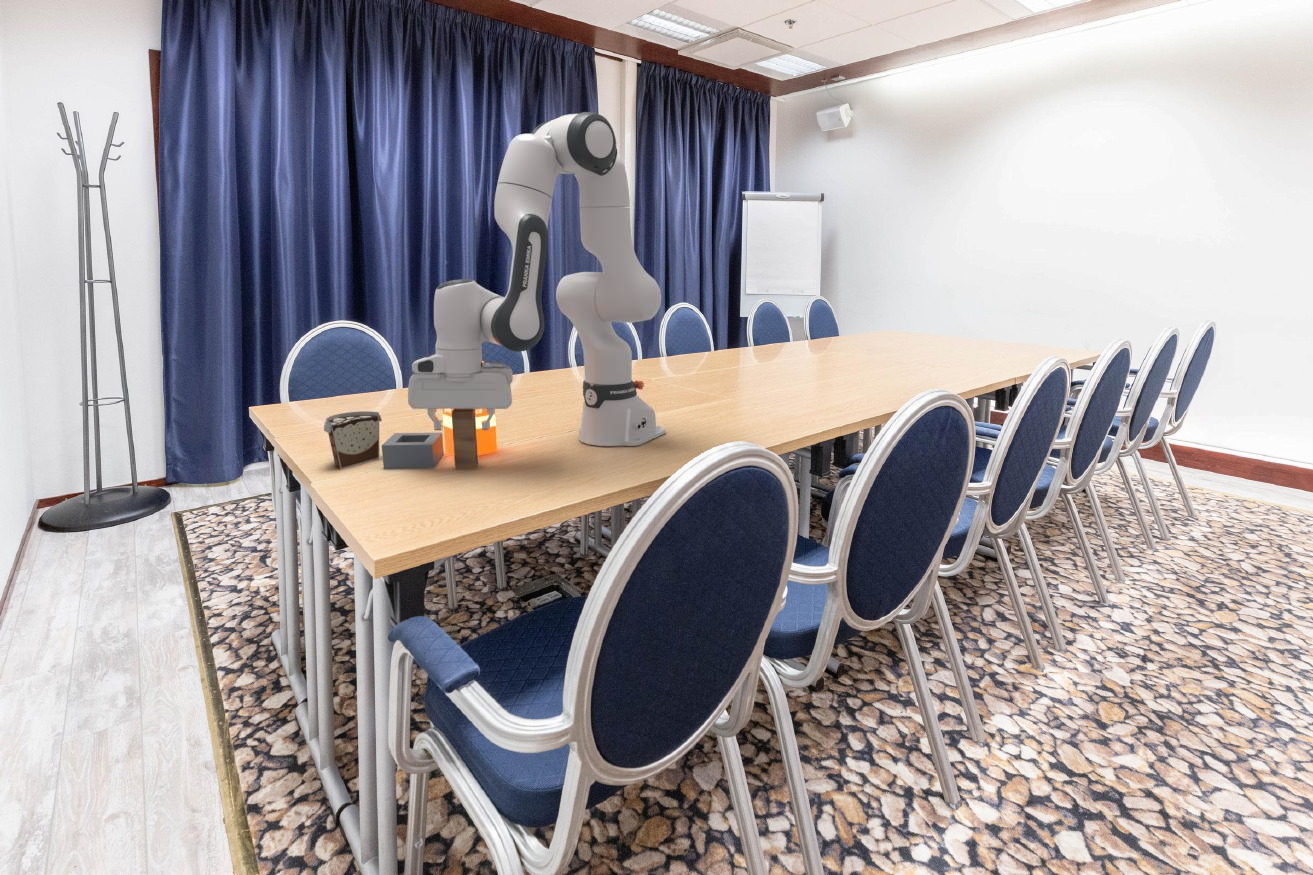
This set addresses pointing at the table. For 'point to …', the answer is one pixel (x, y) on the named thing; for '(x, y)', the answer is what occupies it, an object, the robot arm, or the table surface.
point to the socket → (412, 450)
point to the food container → (353, 437)
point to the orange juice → (484, 437)
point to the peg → (464, 438)
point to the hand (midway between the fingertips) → (462, 429)
